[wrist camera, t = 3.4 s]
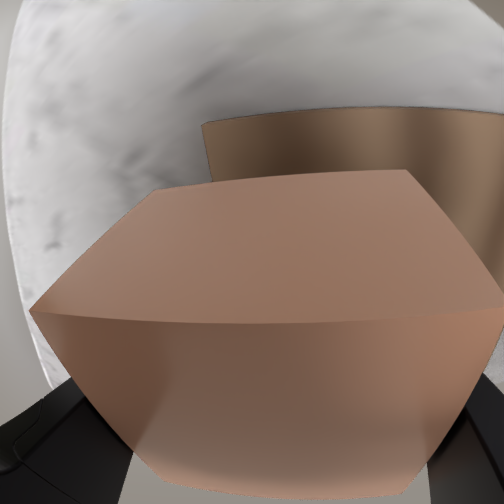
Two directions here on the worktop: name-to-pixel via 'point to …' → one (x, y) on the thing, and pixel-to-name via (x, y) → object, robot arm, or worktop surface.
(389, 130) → the walnut board
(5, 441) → the robot arm
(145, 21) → the worktop surface
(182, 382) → the salmon foam cube
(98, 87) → the worktop surface
